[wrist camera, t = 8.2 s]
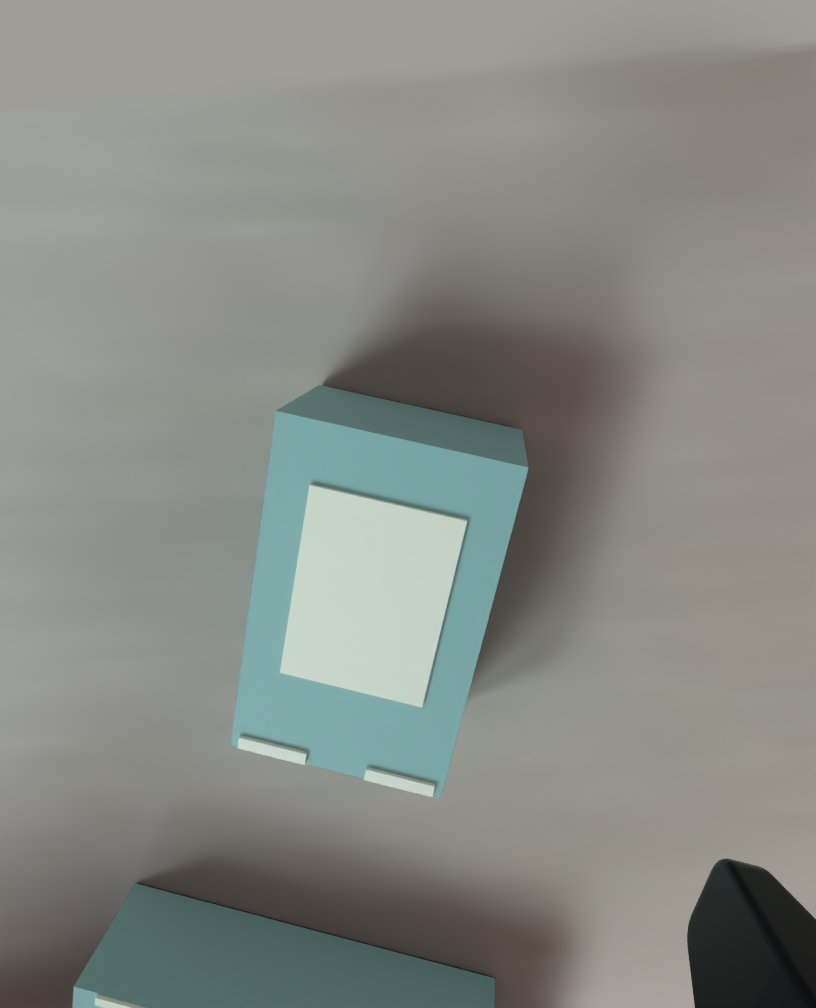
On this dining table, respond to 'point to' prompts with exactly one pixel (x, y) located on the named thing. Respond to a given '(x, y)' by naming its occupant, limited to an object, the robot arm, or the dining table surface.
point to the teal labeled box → (373, 584)
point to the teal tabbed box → (254, 964)
